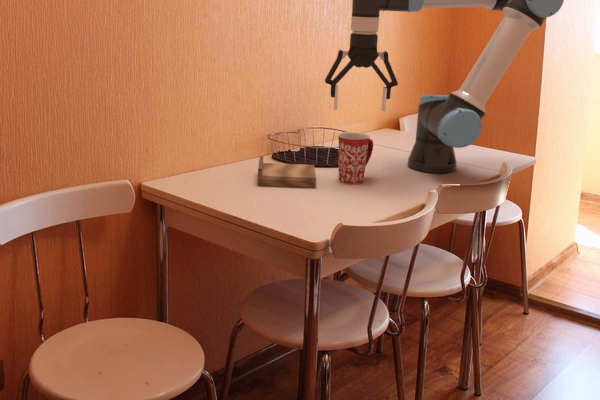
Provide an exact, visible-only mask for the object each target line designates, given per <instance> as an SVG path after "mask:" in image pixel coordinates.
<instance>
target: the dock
mask: <svg viewBox="0 0 600 400" xmlns="http://www.w3.org/2000/svg"><path fill="white" fill-rule="evenodd" d="M258 160H259V161H258V168H257V186H259V187H260V186H261V187H283V188H284V187H286V188H287V187H288V188H289V187H291V188H312V189H313V188H316V186H317V185H316V184H317V177H316V176H317V175H316V169H315V164H303V163H302V164H301V163H299V164H298V163H297V164H296V163H275V162H274V163H272V162H270V163H269V162H264V156H262V155H260V156H259V159H258Z"/></svg>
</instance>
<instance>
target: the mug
mask: <svg viewBox="0 0 600 400" xmlns="http://www.w3.org/2000/svg"><path fill="white" fill-rule="evenodd" d="M337 137H338V181H339V182H340V183H343V184H345V185H347V184H348V185H358V184H362V183H363V182H364V181H365V173H366V172H365V171H366V167H367V165H368V163H369V161H370V159H371V157H372V154H373V151H374V141H373V139H371V136H370V135H369V134H366V133H362V132H358V131H356V132H355V131H347V132H345V131H344V132H340V133H338V134H337Z"/></svg>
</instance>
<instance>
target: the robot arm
mask: <svg viewBox="0 0 600 400" xmlns="http://www.w3.org/2000/svg"><path fill="white" fill-rule="evenodd" d="M564 1H565V0H352V2H351V3H352V5H351V7H352V8H351V17H350V18H351V24H350V31H351V34H350V35H349V38H350V39H349V40H350V41H349V50H348V51H346V50H342V49H338V50H337V51H338V52H337V55H336V58H335V60H334V61H333V64H332V66H331V68H330V70H329V71H328V73H327V75H326V77H325V79H324V82H325V84H327V85H330V97H331V98H334V99H333V100H334V101H333V110H335V111H337V110H338V100H339V99H338V98H339V85H338V83H339V82H340V81H341V80H342V79H343V78H344V77H345V76H346V74H348V73H349V71H350V70H351V69H352V68H353V67H355V68H368V69H369V68H370V67H371V68H373V70H374V72H375V73H376V75H377V76H378V77H379V78H380V79H381V81H382V82H383V83H384V85H385V86H383V87H382V96H381V97H382V98H381V111H382V112H386V109H387V108H386V107H387V100H390V99H391V92H392V88H393V87H397V86H398V85H399V82H398V79H397V77H396V75H395V72H394V71H393V67H392V65H391V63H390V61H389V60H390V59H389V52H388V51H386V50H384V51H383V52H382V51H381V52H379V51H378V39H379V35H378V34H377V33H378V32H379V29H380V28H379V24H380V12H385V11H386V12H405V13H406V12H407V13H411V12H412V13H413V12H420V11H421V10H422V9H441V8H442V9H443V8H445V9H449V8H450V9H451V8H485V10H487V11H500V12H503V15H504V17H502V20H501V21H500V23H499V25H498V26H497V28H496V29H495V31H494V33H492V34H493V35H492V36H491V38H490V39H489V40H488V42H487V44H486V46H485V47H484V49H483V51H482V52H481V53H480V56H479V57H477V58H478V59H477V60H476V62H475V64H473V67H472V68H471V70H470V71H469V73H468V75H467V77H466V78H465V80H464V81H463V83H462V84H461V86H460V87H459V89H458V90H456V91H455V90H454V91H451V92H450V94H422V95H421V96H420V97H419V102H418V106H417V107H418V108H417V109H418V110H417V120H416V130H415V131H416V133H415V134H416V135H415V140H414V141H415V142H414V144H413V146H412V149H411V152H410V153H409V156H408V159H407V167H409V168H410V169H412V170H416V171H419V172H422V173H423V172H424V173H429V174H430V173H431V174H448V173H454V172H455V171H456V170H457V158H456V153H455V149H454V148H456V149H460V148H467V147H469V146H471V145H472V144H473V143H475V142H476V140H477V139H479V137H480V135H481V133H482V130H483V126H482V119H483V118H484V116H485V114H486V112H487V111H486V103H487V102H488V100H489V98H490V97H491V95H492V94H493V93H494V91H495V89H496V87H497V86H498V84H499V83H500V81H501V80H502V79H503V77H504V75H505V74H506V72H507V70H508V69H509V67H510V66H511V64H512V62H513V60H514V59H515V57H516V56H517V54H518V53H519V51H520V49H521V48H522V47H523V45H524V43H525V42H526V40H527V39H528V37H529V35H530V34H531V32H535V31H537V30H540V28H541V27H542V25H543V23H544V22H545V21H546V19H547V18H550V17H553V16H554V15H556V14H557V13H558V12H559V11H560V10H561V8H562V6H563V4H564ZM346 57H348V59H349V61H348V63H347V64H346V65H345V66H344V67H343V68H342V70H340V71H339V73H338V74H337V75H336V76H335V77H334V78H333V76H334V75H335V73H336V71H337V69H338V68H339V66H340V64H341V62H342V60H343V59H345V58H346ZM378 57H379V58H380V60H382V62H383V63H384V66H385V69H386V71H387V73H388V77H389V79H390V80H391V81H390V82H389V80H388V78H387V77H386V76H385V74H384V73H383V72H382V71H381V69H380V68H379V66H378V65H377V64H376V62H375V61H376V60H377V59H378ZM332 78H333V79H332Z"/></svg>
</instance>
